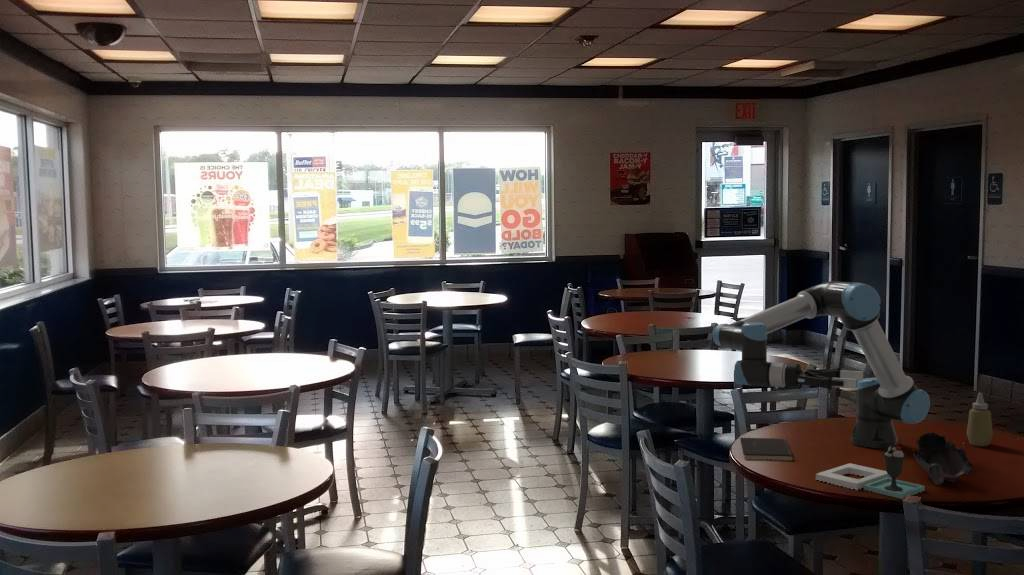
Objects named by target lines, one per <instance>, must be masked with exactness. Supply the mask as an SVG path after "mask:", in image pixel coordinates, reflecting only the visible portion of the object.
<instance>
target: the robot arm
mask: <svg viewBox="0 0 1024 575" xmlns="http://www.w3.org/2000/svg"><path fill="white" fill-rule="evenodd" d="M881 304H882V303H881V297H880V294H879V293H878V290H876V289H875V288H874V287H873V286H871V284H870V285H869V284H867V283H863V282H859V281H858V282H849V281H840V280H830V281H825V282H822V283H820V284H816V285H813V286H811V287H808V288H806V289H804V290H801V291H799V292H798V293H797V294H796V296H795V297H793V298H790V299H788V300H786V301H783V302H781V303H778V304H776V305H773V306H771V307H768V308H766V309H764V310H761V311H759V312H757V313H754V314H751V315H750V316H747V317H744V318H743V319H740V320H737V321H734V322H732V323H730V324H728V323H720V324H718V325H716V326H715V327H714V328H713V331H712V340H713V342H714V343H715V345H716V346H718V347H722V348H723V349H729V350H730V349H731V350H733V351H734V350H736V351H740V352H741V360H736V362H735V363H734V367H733V368H734V370H733V377H734V381H735V382H736V383H737V384H739V385H745V386H750V387H751V386H752V387H753V386H754V387H773V388H775V389H776V390H778V389H779V388H785V387H786V388H787V389H799V388H800V387H801V385H805V386H811V387H817V388H821V389H827V390H829V391H831V390H832V389H833V388H837V389H838V388H840V389H851V390H852V389H854V390H855V392H856V393H855V395H856V400H855V401H856V420H855V424H854V427H853V429H852V432H851V435H850V439H851V440H850V442H851V443H852V444H853V445H855V446H858V445H859V447H862V446H863V447H864V448H868V447H870V448H869V449H885V446H887V447H890V446H891V445H894V444H895V443H897V442H898V436H897V433H896V429H895V427H894V424H893V420H894V421H898V422H901V423H902V422H903V423H905V424H913V425H914V424H919V423H921V422H922V421H923V420H924V419H925V418H926V417H927V415H928V413H929V410H930V408H931V407H930V406H931V400H930V395H929V394H928V392H926V391H925V390H924V389H921V388H918V387H917V386H916V384H915V381H914V379H913V378H912V377H911V376H908V375H906V374H905V372H904V370H903V368H902V366H901V364H900V362H899V360H898V358H897V355H896V353H895V352H894V350H893V348H892V346H891V343H890V341H889V339H888V338H887V336H886V334H885V332H884V330H883V328H882V326H881V324H880V322H879V320H878V319H879V318H880V316H881V315H880V310H881V306H880V305H881ZM821 316H831V317H836V318H840V319H839V320H841V322H842V325H843V326H844V328H845V329H846V330H848V331H851V332H852V333H853V335H854V337H855V339H856V341H857V344H858V345H859V346H860V349H861V351H862V353H863V354H864V356H865V358H866V360H867V363H868V365H869V366H870V368H871V370H872V372H873V374H874V376H875V377H865V378H864V371H863V370H862V371H860V370H848V369H847V370H844V369H842V368H841V367H837V368H818V369H817V368H815V369H814V368H807V369H806V370H802V366H801V364H800V363H792V362H788V363H785V362H777V361H775V362H771V361H770V362H769V361H768V359H767V358H768V356H767V352H768V351H767V350H768V349H767V348H768V345H767V344H768V334H771V333H772V332H776V331H777V330H779V329H782V328H784V327H787V326H789V325H792V324H794V323H796V322H799V321H801V320H804V319H808V320H809V319H810V320H811V319H814V318H816V317H821ZM897 444H898V443H897ZM863 447H862V448H863Z"/></svg>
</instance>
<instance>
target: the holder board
mask: <svg viewBox="0 0 1024 575" xmlns="http://www.w3.org/2000/svg"><path fill="white" fill-rule="evenodd" d="M847 474H849V475H853V474H854V475H853V476H857V475H859V477H862V476H864V477H862V478H854V477H850V476H845V475H847ZM886 477H887V478H891V479H892V477H891V476H890V475H889V474H888V473H887V471H886V470H883V469H877V468H873V467H868V466H865V465H860V464H859V465H858V464H855V463H850V462H849V463H846V464H844V465H840V466H839V465H838V466H837V467H833V468H831V469H830V468H829V469H828V470H823V471H820V472H817V473H815V481H816V480H819V481H818V482H820V481H823V482H822V483H824V482H827V483H826V484H829V483H831V484H830V485H833V484H834V486H837V485H838V487H841V486H843V487H842V488H845V487H846V488H845V489H849V488H850V489H849V490H853V489H855V490H854V491H859V490H858V489H860V490H862V489H861V488H863V489H864V485H866V484H869V483H872V482H875V481H878V480H881V479H883V478H886Z"/></svg>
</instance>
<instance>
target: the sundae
mask: <svg viewBox="0 0 1024 575" xmlns="http://www.w3.org/2000/svg"><path fill="white" fill-rule="evenodd" d="M902 441H903V439H901V438H900V439H899V440H897V443H895V444H894V445H891V446H890V447H887V446H885V448H884V452H883V453H881V455H882V456H883V457H884V465H885V471H887V473H888V474H889V475H890V476H891V479H892V483H891V485H890V486H886V487H885V489H886V490H890V491H902V490H903V489H902V488H901V487H898V486H897V485H896V480H897V478H898V477H900V475H901V474H902V471H903V466H904V460H905V459H906V458H907V454H905V453H904V451H903V450H902V447H901V446H900V445H899V444H900V442H902Z"/></svg>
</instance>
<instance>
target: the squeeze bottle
mask: <svg viewBox="0 0 1024 575" xmlns="http://www.w3.org/2000/svg"><path fill="white" fill-rule="evenodd" d="M988 408H989V404H988V403H986V402H985V400H984V395H983V392H978V393H977V397H976V400H975V402H973V403H972V408H971V409H970V410H969V413H968V422H967V427H966V435H967V439H968V442H969V444H970V445H971V446H976V447H988V446H989V445H990V444H991V441H992V438H993V436H994V435H993V424H992V422H993V421H992V413H991V410H989V409H988Z"/></svg>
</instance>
